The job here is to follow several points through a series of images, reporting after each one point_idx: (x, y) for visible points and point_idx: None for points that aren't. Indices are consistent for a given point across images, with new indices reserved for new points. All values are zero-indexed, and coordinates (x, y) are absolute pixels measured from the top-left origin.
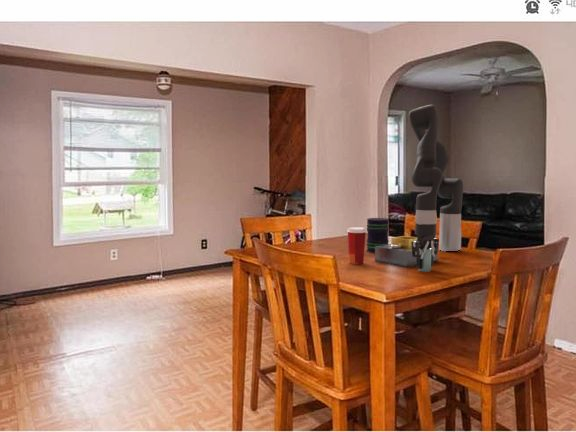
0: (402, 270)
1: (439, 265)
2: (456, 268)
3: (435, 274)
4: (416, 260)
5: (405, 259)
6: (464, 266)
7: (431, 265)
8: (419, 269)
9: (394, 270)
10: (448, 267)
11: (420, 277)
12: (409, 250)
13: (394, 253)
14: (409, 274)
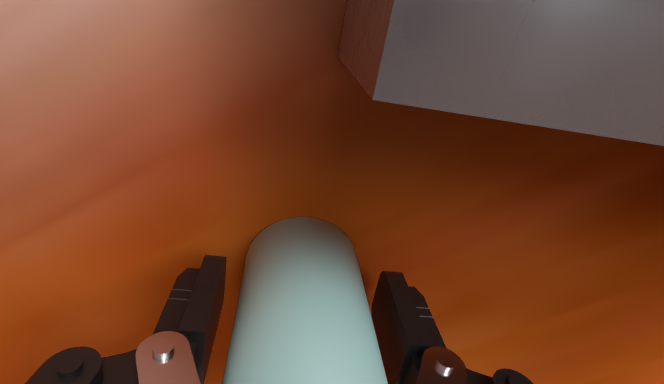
0: (128, 112)
1: (594, 252)
2: (526, 371)
3: (222, 372)
4: (159, 321)
5: (355, 37)
6: (625, 374)
7: (372, 316)
8: (251, 249)
9: (40, 36)
10: (538, 327)
11: (26, 356)
12: (536, 66)
13: None
14: (32, 254)
